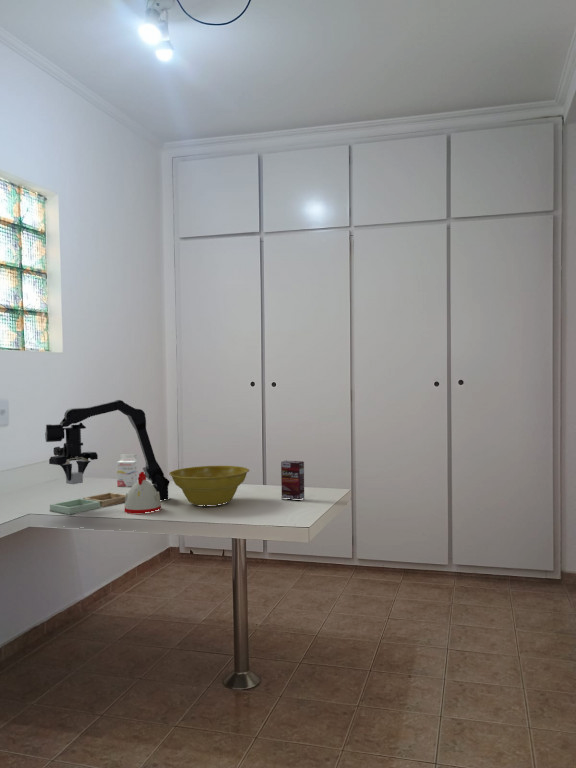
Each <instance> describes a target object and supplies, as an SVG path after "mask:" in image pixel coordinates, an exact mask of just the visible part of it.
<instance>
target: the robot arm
mask: <svg viewBox="0 0 576 768" xmlns="http://www.w3.org/2000/svg"><path fill="white" fill-rule="evenodd" d="M115 411H118V412H121V413H122V414H123V415H125V416H127V419H128V421H129V422H130V423H131V426H132V427H133V429H134V430H135V433H136V436H137V438H138V439H137V440H138V442H139V444H140V448H141V452H142V454H143V458H144V461H145V467H142V470H143V472H144V474H145V476H146V479H147V481H149V482H150V483H151V484H152V485H153V486H154V488H155V489H156V491H157V492H159V495H160V500H164V499H168V498H169V485H170V482H171V481H170V480H169V479H167V477H165V474H164V472H163V469H162V468H161V466H160V464H159V463H158V461H157V459H156V456H155V454H154V451H153V450H154V449H153V447H152V444H151V441H150V438H149V437H150V436H149V434H148V431H147V418H146V413H145V411H144V410H143V409H140V408H136V407H133V406H131V405H129V404H128V403H126V402H125V401H123V400H121V399H116V400H114V401H110V402H106V403H101V404H97V405H93V406H88V407H75V408H74V407H73V408H72V407H71V408H68V409H67V410H66V411H65V412H64V417H63V418H62V420H61V421H60V423H58V424H49V423H48V424H45V433H44V436H45V437H44V438H45V442H46V443H55V442H62V441H63V440H64V439H65V442H64V443H63V447H60V446H55V447H53V455H54V456H50V457H49V460H48V463H49V464H48V465H53V466H54V465H55V466H60V467H61V468H62V470H63V471H64V474H65V478H66V477H67V479H68V481H70V480H71V472H73V471H72V468H73V463H71V461H75V462H76V464H77V472H82V473H83V474H84V473H85V470H86V469H87V467H88V465H89V463H91V460H92V461H94V460H98V459H99V456H98V453H97V452H96V451H83V452H82V446H84V442H82V429H83V430H85V429H87V427H86V426H85V425H84V423H83V422H82V421H85V420H86V419H88V418H91V417H95V416H98V415H103V414H107V413H111V412H115ZM89 459H90V460H89Z"/></svg>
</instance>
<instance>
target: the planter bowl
mask: <svg viewBox="0 0 576 768" xmlns="http://www.w3.org/2000/svg"><path fill="white" fill-rule="evenodd" d="M248 472H250V469H249V468H247V467H244V466H237V465H236V466H235V465H204V466H203V465H201V466H192V467H190V466H189V467H185V468H184V467H183V468H177V469H175V470H172V471H170V472H169V473H168V475H169V476H170V477H171V479H172V481H173V482H174V485H176V486H177V487H179V488H180V489H181V490H182V493H183V495H184V496H185V498H186V499H187V501H188V502H189V503H190V504H192V505H193V504H195V505H203V506H204V505H205V506H207V505H218V504H223V503H226V502H228V503H230V502H231V501H232V500H233V498H234V496H235V495H236V492H237V490H238V487H239V486H240V485H241V484H242V483H244V481H246V480H245V479H246V476H247V473H248ZM195 505H194V506H195Z"/></svg>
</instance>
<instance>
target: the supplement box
mask: <svg viewBox="0 0 576 768" xmlns="http://www.w3.org/2000/svg"><path fill="white" fill-rule="evenodd" d="M280 467H281V468H280V470H281V472H280V473H281V475H280V476H281V477H280V478H281V479H280V480H281V483H280V484H281V499H282V498H290V499H302V498H304V499H305V461H301V460H300V461H298V460H284V461H280Z"/></svg>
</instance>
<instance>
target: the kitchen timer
mask: <svg viewBox="0 0 576 768" xmlns="http://www.w3.org/2000/svg"><path fill="white" fill-rule="evenodd" d="M125 495H126V497H125V502H124V512H125V513H126V512H127V513H126V514H129V513H145V512H151V511H155V510H158V509H160V508H161V509H162V501H161V502H160V495H159V492H157V491H156V489H155V488H154V486H153V484H152V483H151V481H149V480H147V477H146V476H145V472H144V471H140V472H139V473H138V476H137V482H136V483H135V484H134V485H133V486H132V487H130V489H129V490H128V493H127V492H126V493H125Z"/></svg>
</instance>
